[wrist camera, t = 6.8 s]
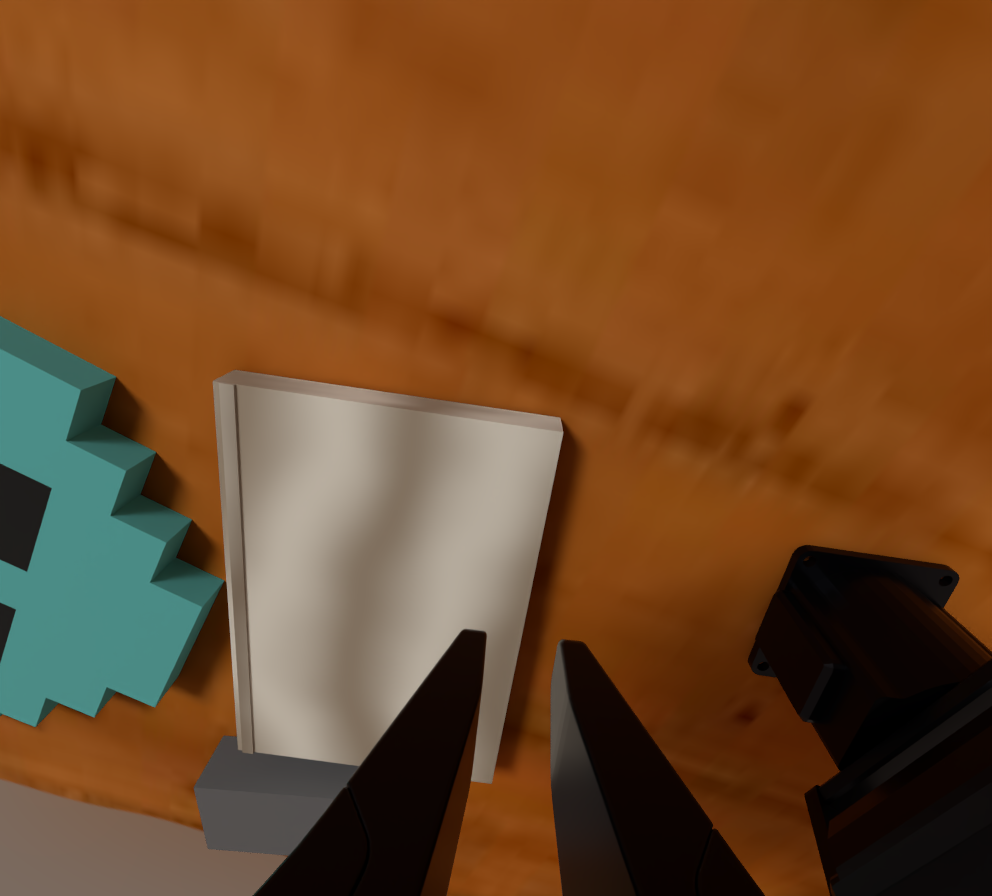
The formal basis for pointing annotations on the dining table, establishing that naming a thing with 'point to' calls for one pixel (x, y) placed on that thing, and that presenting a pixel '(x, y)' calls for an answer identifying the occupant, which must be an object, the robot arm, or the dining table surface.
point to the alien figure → (83, 546)
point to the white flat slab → (371, 554)
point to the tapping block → (264, 798)
